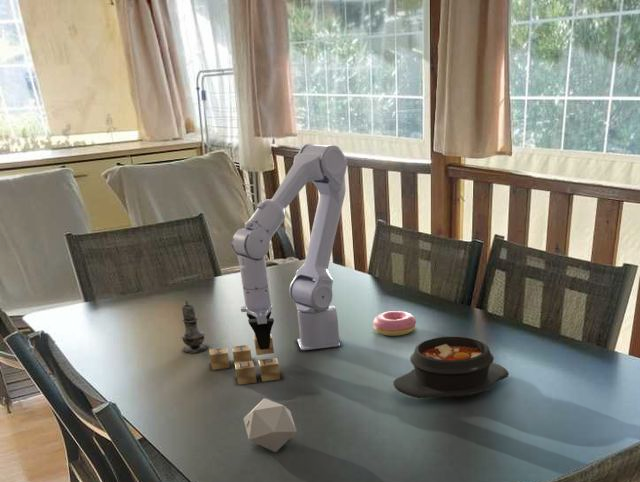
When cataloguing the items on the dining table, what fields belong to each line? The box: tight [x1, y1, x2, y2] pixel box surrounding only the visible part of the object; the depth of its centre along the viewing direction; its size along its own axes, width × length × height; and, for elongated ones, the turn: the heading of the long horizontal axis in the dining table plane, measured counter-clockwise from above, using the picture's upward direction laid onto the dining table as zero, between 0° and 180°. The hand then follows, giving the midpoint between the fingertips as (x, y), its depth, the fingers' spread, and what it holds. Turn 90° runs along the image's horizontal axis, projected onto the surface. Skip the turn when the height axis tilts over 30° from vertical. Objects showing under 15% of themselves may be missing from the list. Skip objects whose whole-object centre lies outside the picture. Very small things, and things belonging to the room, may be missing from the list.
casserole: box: [392, 335, 510, 399], centre depth 142 cm, size 25×19×8 cm
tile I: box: [208, 346, 231, 371], centre depth 159 cm, size 4×4×4 cm
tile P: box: [258, 357, 281, 383], centre depth 152 cm, size 4×4×4 cm
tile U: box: [234, 360, 258, 386], centre depth 151 cm, size 4×4×4 cm
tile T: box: [231, 344, 253, 364], centre depth 160 cm, size 4×4×4 cm
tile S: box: [252, 333, 275, 356], centre depth 160 cm, size 4×4×4 cm
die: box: [243, 397, 297, 453], centre depth 123 cm, size 8×9×10 cm
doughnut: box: [372, 310, 417, 337], centre depth 175 cm, size 11×11×4 cm
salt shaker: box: [180, 300, 207, 354], centre depth 168 cm, size 6×6×12 cm
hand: (263, 345), depth 160 cm, fingers closed on tile S, 4 cm apart
